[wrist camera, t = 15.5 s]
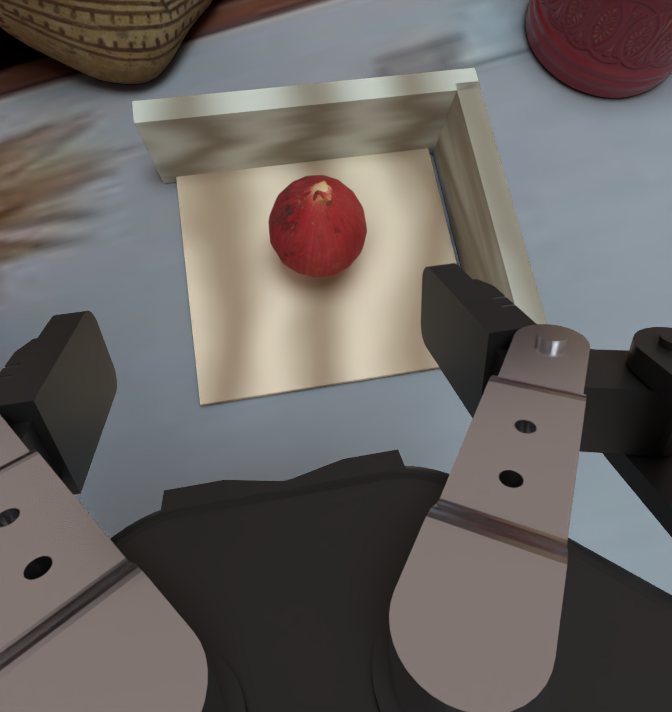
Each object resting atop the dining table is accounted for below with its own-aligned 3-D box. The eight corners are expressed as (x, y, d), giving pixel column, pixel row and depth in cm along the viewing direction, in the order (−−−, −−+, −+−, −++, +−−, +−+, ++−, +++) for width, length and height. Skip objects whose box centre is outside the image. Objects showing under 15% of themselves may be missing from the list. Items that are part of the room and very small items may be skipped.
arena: (186, 416, 30) (158, 402, 24) (162, 164, 34) (132, 101, 28) (507, 365, 32) (551, 340, 26) (447, 133, 36) (474, 67, 30)
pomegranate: (277, 299, 32) (268, 242, 24) (269, 220, 33) (257, 142, 25) (365, 290, 32) (383, 232, 24) (353, 213, 34) (367, 134, 26)
